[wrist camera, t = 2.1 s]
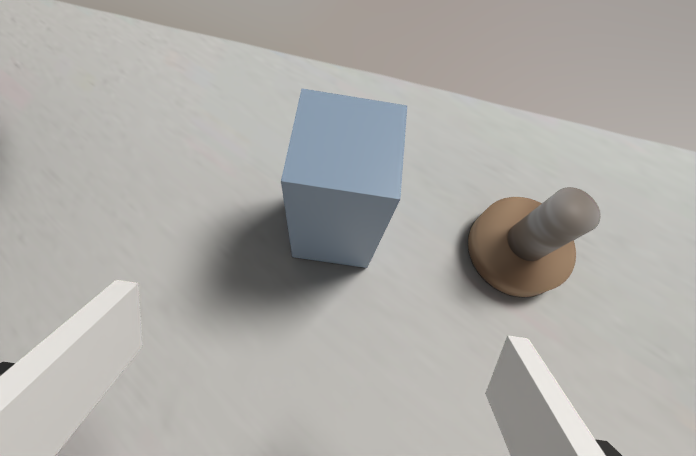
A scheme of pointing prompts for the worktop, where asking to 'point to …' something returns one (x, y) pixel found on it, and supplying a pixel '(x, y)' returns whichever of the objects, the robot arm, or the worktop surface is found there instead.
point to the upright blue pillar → (342, 176)
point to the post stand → (531, 240)
